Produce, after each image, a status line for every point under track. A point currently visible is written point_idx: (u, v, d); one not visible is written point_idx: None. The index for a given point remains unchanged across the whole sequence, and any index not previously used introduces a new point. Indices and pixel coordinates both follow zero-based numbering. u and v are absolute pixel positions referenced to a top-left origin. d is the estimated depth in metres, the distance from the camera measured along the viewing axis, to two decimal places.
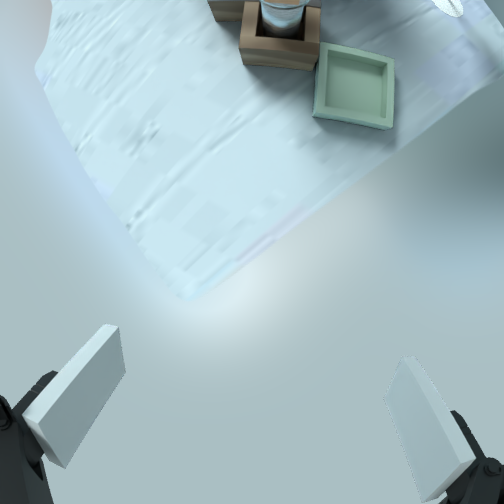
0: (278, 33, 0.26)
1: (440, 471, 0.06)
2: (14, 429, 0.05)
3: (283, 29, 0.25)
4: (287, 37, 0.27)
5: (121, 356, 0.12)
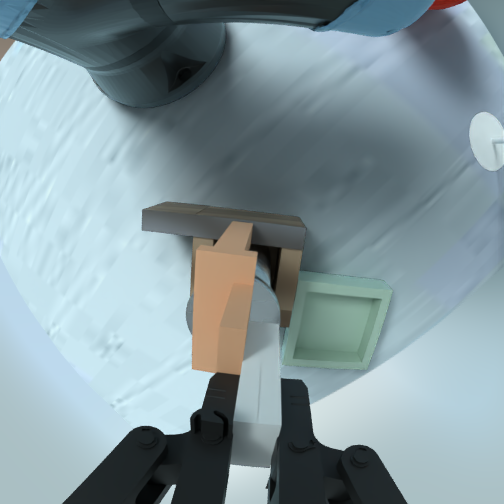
0: None
1: None
2: (225, 447, 0.07)
3: None
4: None
5: None
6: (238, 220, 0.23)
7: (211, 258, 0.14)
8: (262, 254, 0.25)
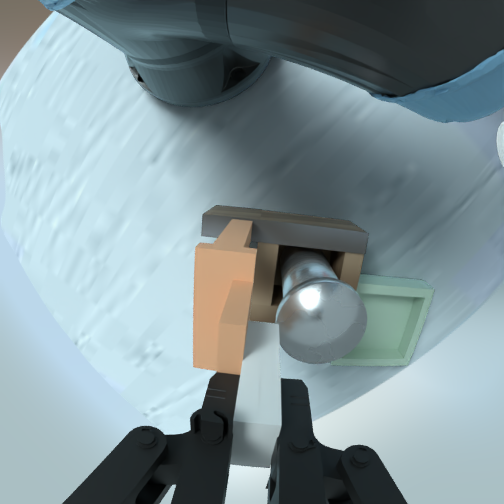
0: None
1: None
2: (226, 447, 0.07)
3: None
4: None
5: None
6: (305, 225, 0.23)
7: (210, 255, 0.15)
8: (325, 258, 0.25)
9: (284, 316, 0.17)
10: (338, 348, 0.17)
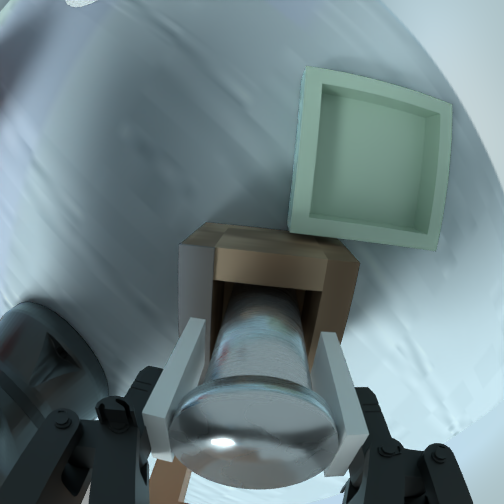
0: None
1: None
2: (133, 434, 0.07)
3: None
4: (299, 313, 0.16)
5: (204, 348, 0.14)
6: (179, 337, 0.16)
7: None
8: (231, 304, 0.16)
9: (234, 483, 0.09)
10: (305, 434, 0.07)
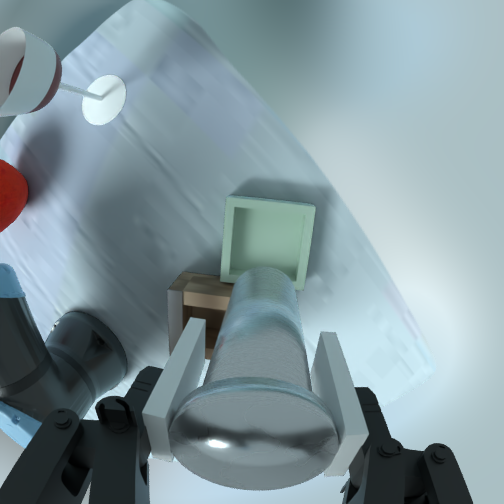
0: None
1: None
2: (132, 434, 0.07)
3: None
4: (299, 314, 0.16)
5: (204, 348, 0.14)
6: (169, 330, 0.34)
7: None
8: (231, 305, 0.16)
9: (234, 484, 0.09)
10: (305, 435, 0.07)
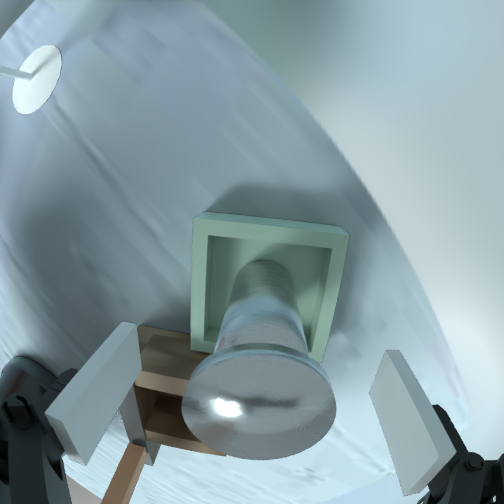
0: None
1: (420, 464, 0.07)
2: (36, 429, 0.06)
3: None
4: None
5: (138, 353, 0.13)
6: (121, 412, 0.20)
7: None
8: (234, 292, 0.17)
9: (240, 453, 0.10)
10: (305, 396, 0.09)
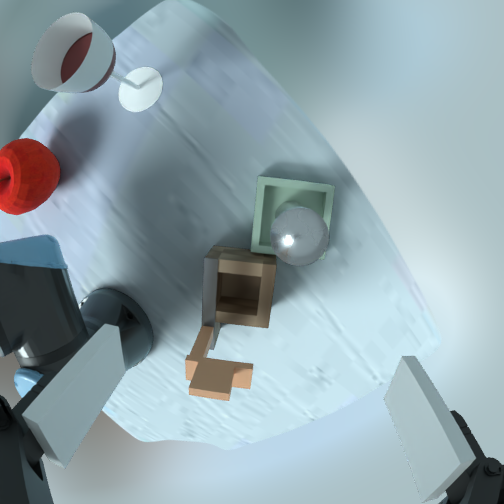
0: None
1: (440, 471, 0.06)
2: (14, 429, 0.05)
3: None
4: None
5: (121, 356, 0.12)
6: (203, 297, 0.38)
7: (188, 375, 0.31)
8: (280, 209, 0.36)
9: (291, 261, 0.28)
10: (317, 225, 0.27)
